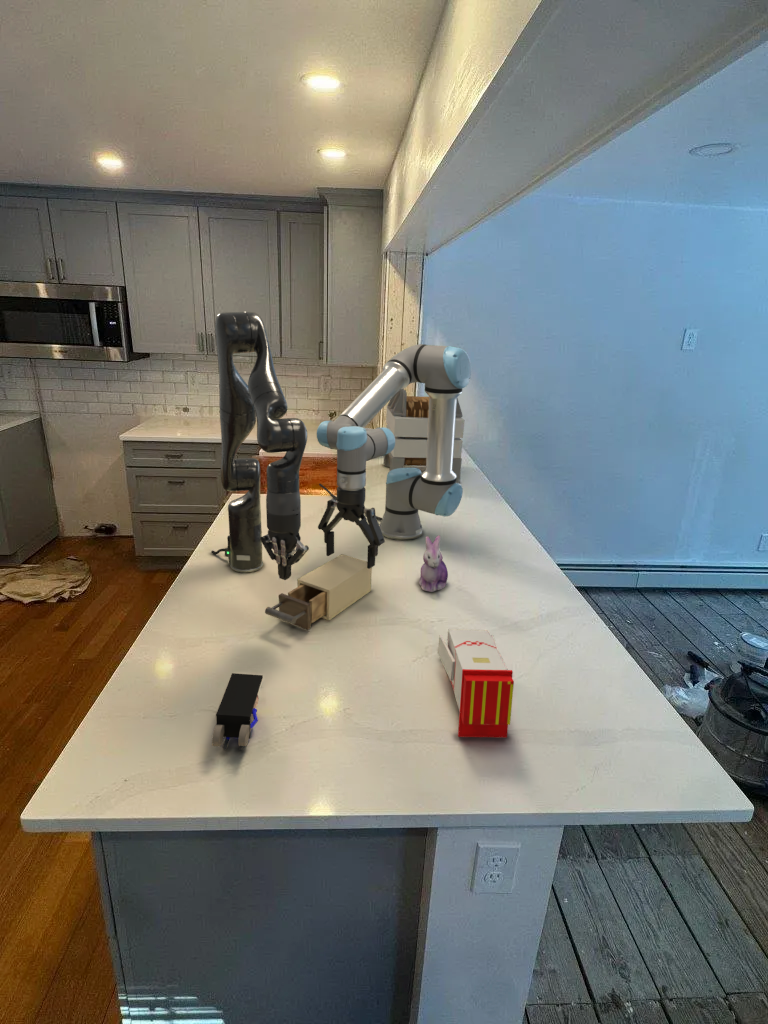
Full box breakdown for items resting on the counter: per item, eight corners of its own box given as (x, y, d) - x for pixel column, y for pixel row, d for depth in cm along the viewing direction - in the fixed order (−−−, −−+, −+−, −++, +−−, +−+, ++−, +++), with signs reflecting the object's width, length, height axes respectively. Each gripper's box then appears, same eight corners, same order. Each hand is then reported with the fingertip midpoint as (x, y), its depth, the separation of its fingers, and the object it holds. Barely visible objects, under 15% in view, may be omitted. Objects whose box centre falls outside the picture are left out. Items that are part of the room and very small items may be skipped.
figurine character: (250, 764, 99) (265, 700, 113) (248, 732, 96) (263, 671, 109) (212, 763, 99) (231, 699, 112) (208, 732, 96) (228, 670, 109)
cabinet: (329, 620, 143) (329, 590, 140) (297, 608, 148) (297, 579, 145) (371, 590, 159) (372, 563, 156) (341, 581, 164) (341, 553, 161)
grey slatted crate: (382, 463, 289) (386, 382, 275) (445, 464, 293) (451, 384, 279) (390, 482, 257) (394, 392, 243) (460, 483, 261) (468, 394, 247)
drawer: (293, 640, 132) (292, 615, 130) (264, 628, 137) (263, 603, 134) (351, 600, 152) (351, 577, 149) (324, 590, 156) (324, 568, 154)
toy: (488, 613, 130) (523, 677, 101) (484, 667, 133) (517, 744, 104) (435, 612, 130) (455, 676, 101) (432, 666, 133) (451, 743, 103)
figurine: (428, 595, 157) (432, 546, 152) (409, 580, 166) (413, 532, 161) (456, 589, 161) (461, 541, 156) (437, 574, 170) (441, 528, 165)
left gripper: (249, 506, 126) (252, 576, 132) (295, 519, 120) (296, 592, 126) (272, 498, 132) (274, 565, 138) (317, 509, 126) (317, 580, 132)
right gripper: (304, 481, 151) (305, 553, 158) (384, 500, 139) (381, 577, 146) (321, 474, 157) (322, 544, 164) (399, 492, 145) (396, 567, 153)
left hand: (284, 578), depth 132 cm, fingers closed
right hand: (350, 560), depth 155 cm, fingers open, 13 cm apart
